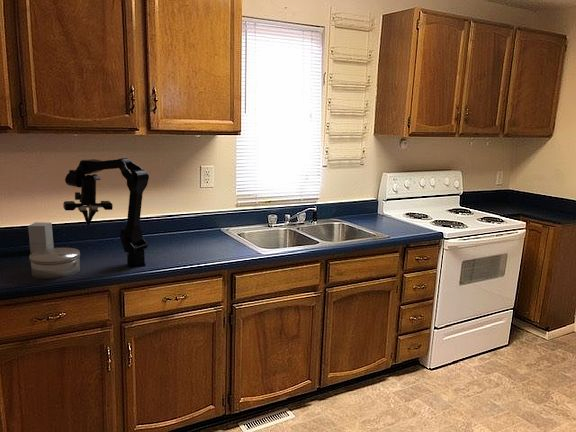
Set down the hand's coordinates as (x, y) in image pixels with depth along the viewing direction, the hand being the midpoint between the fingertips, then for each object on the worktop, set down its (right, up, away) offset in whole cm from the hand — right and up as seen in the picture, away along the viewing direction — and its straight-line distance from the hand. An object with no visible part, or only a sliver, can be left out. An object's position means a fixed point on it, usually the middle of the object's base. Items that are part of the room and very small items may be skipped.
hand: (88, 225), depth 204 cm
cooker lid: (-5, -12, -19) cm, 23 cm away
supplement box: (-24, -12, +9) cm, 28 cm away
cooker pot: (-6, -17, -15) cm, 23 cm away
